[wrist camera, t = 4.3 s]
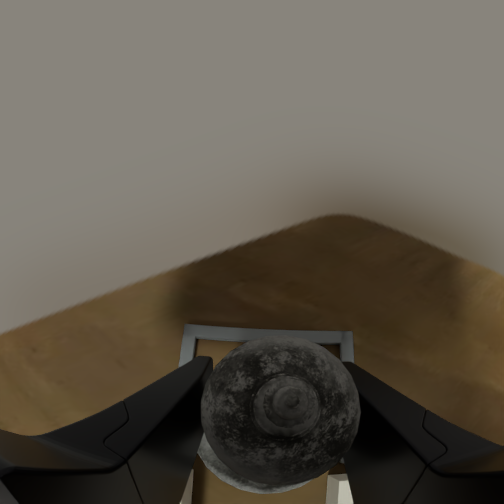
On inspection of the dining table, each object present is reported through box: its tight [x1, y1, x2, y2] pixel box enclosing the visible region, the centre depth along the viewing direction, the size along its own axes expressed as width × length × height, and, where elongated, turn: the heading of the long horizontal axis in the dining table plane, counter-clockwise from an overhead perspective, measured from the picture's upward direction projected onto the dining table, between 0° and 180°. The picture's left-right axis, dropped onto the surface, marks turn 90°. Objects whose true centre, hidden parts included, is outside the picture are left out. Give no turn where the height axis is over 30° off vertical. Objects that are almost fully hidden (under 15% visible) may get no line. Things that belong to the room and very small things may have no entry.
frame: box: [179, 324, 354, 463], centre depth 15 cm, size 8×10×1 cm
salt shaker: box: [197, 335, 361, 494], centre depth 8 cm, size 6×6×12 cm
